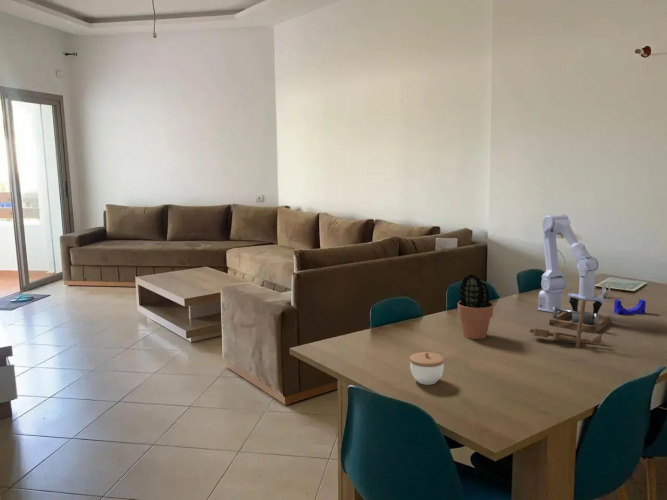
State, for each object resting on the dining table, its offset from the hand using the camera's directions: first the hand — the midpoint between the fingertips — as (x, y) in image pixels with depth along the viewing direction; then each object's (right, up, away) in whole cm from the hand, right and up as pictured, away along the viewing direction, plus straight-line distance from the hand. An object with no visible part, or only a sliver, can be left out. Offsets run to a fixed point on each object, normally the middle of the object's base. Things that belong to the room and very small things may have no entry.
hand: (585, 317), depth 236 cm
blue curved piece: (+25, 0, +10) cm, 27 cm away
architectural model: (+28, +3, +34) cm, 44 cm away
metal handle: (-8, -3, -8) cm, 12 cm away
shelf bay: (-3, -2, -3) cm, 5 cm away
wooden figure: (-20, -7, -26) cm, 33 cm away
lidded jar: (-78, -13, -61) cm, 100 cm away
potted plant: (-52, -6, -17) cm, 55 cm away
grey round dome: (-2, -2, -2) cm, 3 cm away
